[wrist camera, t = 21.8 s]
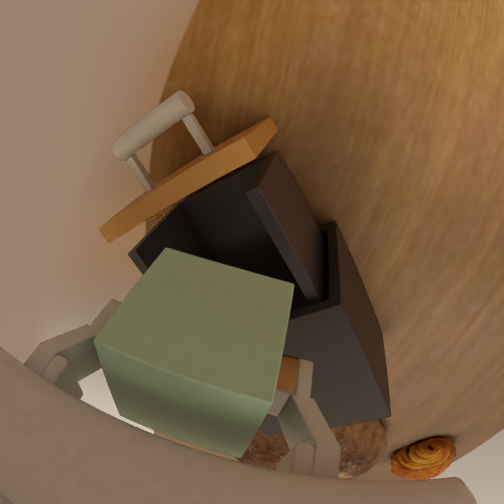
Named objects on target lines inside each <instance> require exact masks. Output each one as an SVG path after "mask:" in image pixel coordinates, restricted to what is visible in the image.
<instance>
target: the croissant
mask: <svg viewBox="0 0 504 504" xmlns="http://www.w3.org/2000/svg"><path fill="white" fill-rule="evenodd" d="M455 456H456V448H455V446H454V445H453V443H452V442H451V441H449V440H448V439H445V438H432V439H429V440H426V441H423V442H421V443H417V444H414V445H412V446H411V447H410V446H407V447H404V448H402V449H401V450H400V451H399V452H397V453H396V454H395V455H394V457H393V459H392V462H391V466H392V469H391V470H392V473H393V474H395V475H396V476H399V477H402V478H404V479H415V480H425V479H429V478H433V477H436V476H438V475H439V474H441V473H442V472H444V471H445V469H446V468H448V467H449V466H450V465H451V463H452V461H453V460H454V458H455Z"/></svg>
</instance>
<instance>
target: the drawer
mask: <svg viewBox="0 0 504 504" xmlns="http://www.w3.org/2000/svg"><path fill="white" fill-rule="evenodd" d="M194 109H195V108H194V104H193V102H192V100H191V98H190V97H189V96H188V95H187V94H186V93H185V92H184V91H181V90H179V91H177V92H176V93H174V94H173V95H172V96H170V97H169V98H167V99H166V100H165V101H163V102H162V103H161V104H159V105H158V106H157V107H156V108H154V109H153V110H152V111H150V112H149V113H148V114H147V115H145V116H144V117H143V118H141V119H140V120H139V121H138V122H136V123H135V124H134V125H133V126H132V127H130V128H129V129H128V130H127V131H126V132H125V133H123V134H122V135H121V136H120V137H119V138H118V139H116V140H115V141H114V142H113V144H112V146H111V147H112V148H111V149H112V152H113V154H114V155H115V156H116V158H118V159H119V160H122V161H125V160H126V162H127V163H128V165H129V166H130V168H131V170H132V171H133V173H134V174H135V176H136V177H137V179H138V180H139V182H140V183H141V185H142V186H143V188H144V190H145V191H146V192H144V193H143V194H142V195H141V196H139V197H138V198H137V199H135V200H134V201H133V202H131V203H130V204H129V205H128V206H126V207H125V208H124V209H123V210H121V211H120V212H119V213H118V214H116V215H115V216H114V217H113V218H111V220H109V221H108V222H107V223H105V224H104V225H103V226H102V227H101V228H100V229H99V230H100V232H101V233H102V235H103V236H104V238H105V239H106V240H107V242H108V243H110V242H112V241H113V240H115V239H116V238H118V237H120V236H121V235H122V234H124V233H126V232H128V231H129V230H131V229H132V228H134V227H135V226H137V225H139V224H140V223H142V222H143V221H145V220H147V219H148V218H150V217H152V216H153V215H155V214H157V213H158V212H160V211H162V210H163V209H165V208H167V207H168V206H170V205H172V204H174V203H175V202H177V201H179V200H180V199H182V198H184V197H186V196H187V195H189V194H191V193H193V192H194V191H196V190H198V189H200V188H202V187H203V186H205V185H207V184H209V183H211V182H212V181H214V180H216V179H218V178H220V177H222V176H224V175H225V174H227V173H229V172H231V171H233V170H235V169H237V168H239V167H241V166H242V165H244V164H246V163H248V162H250V161H252V160H254V159H256V157H257V156H258V155H259V154H260V152H261V151H262V150H263V148H264V147H265V146H266V145H267V143H268V142H269V141H270V140H271V138H272V137H273V136H274V135H275V133H276V132H277V131H278V129H277V127H276V125H275V124H274V122H273V120H272V118H271V117H269V118H267V119H265V120H263V121H261V122H259V123H257V124H255V125H254V126H252V127H250V128H248V129H246V130H244V131H242V132H241V133H239V134H237V135H235V136H233V137H232V138H230V139H228V140H226V141H225V142H223V143H221V144H219V145H218V146H216V147H213V145H212V144H211V142H210V140H209V139H208V137H207V135H206V134H205V132H204V131H203V129H202V127H201V126H200V124H199V123H198V121H197V119H196V118H195V116H194V115H193V113H192V112H193V111H194ZM181 119H182V121H183V122H184V124H185V125H186V127H187V129H188V130H189V132H190V133H191V135H192V137H193V138H194V140H195V141H196V143H197V145H198V146H199V148H200V149H201V151H202V153H203V154H202V155H201V156H199V157H197V158H196V159H194V160H192V161H191V162H189V163H188V164H186V165H184V166H183V167H181V168H180V169H178V170H176V171H175V172H173V173H172V174H170V175H169V176H167V177H166V178H164V179H162V180H161V181H159V182H158V183H156V184H155V183H154V182H153V180H152V179H151V177H150V176H149V174H148V173H147V171H146V170H145V168H144V166H143V165H142V163H141V162H140V160H139V159H138V157H137V156H136V154H135V153H136V152H137V151H139V150H140V149H141V148H143V147H144V146H145V145H147V144H148V143H149V142H151V141H152V140H153V139H155V138H156V137H157V136H159V135H160V134H161V133H163V132H164V131H166V130H167V129H168V128H170V127H171V126H173V125H174V124H176V123H177V122H178V121H180V120H181ZM165 248H170V249H173V250H177V251H180V252H184V253H187V254H190V255H194V256H197V257H201V258H204V259H208V260H211V261H214V262H218V263H221V264H225V265H228V266H232V267H235V268H239V269H242V270H246V271H250V272H253V273H257V274H260V275H264V276H267V277H271V278H275V279H278V280H282V281H285V282H289V283H293V284H294V291H293V297H292V303H291V309H290V311H293V310H296V309H299V308H303V307H306V306H309V305H312V304H316V303H319V302H322V301H325V300H328V299H329V266H328V245H327V243H326V241H325V239H324V237H323V235H322V232H321V230H320V228H319V226H318V224H317V222H316V220H315V218H314V216H313V215H312V213H311V211H310V209H309V207H308V205H307V203H306V201H305V199H304V197H303V195H302V193H301V191H300V189H299V188H298V186H297V184H296V182H295V180H294V178H293V176H292V174H291V173H290V171H289V169H288V167H287V165H286V163H285V162H284V160H283V158H282V156H281V154H280V153H279V151H276V152H274V153H272V154H270V155H268V156H266V157H264V158H262V159H260V160H258V161H256V162H254V163H252V164H250V165H248V166H246V167H244V168H242V169H240V170H238V171H236V172H234V173H232V174H230V175H229V176H227V177H225V178H223V179H221V180H219V181H217V182H216V183H214V184H212V185H210V186H208V187H206V188H205V189H203V190H201V191H199V192H197V193H196V194H194V195H192V196H190V197H188V198H187V199H185V200H183V201H181V202H180V203H178V204H176V205H175V206H174V207H173V208H172V209H171V210H170V211H169V212H168V213H167V214H166V215H165V216H164V217H163V218H162V219H161V220H160V221H159V222H158V223H157V224H156V225H155V226H154V227H153V228H152V229H151V230H150V231H149V232H148V233H147V234H146V236H145V237H144V238H143V239H142V240H141V241H140V242H139V243H138V244H137V245H136V246H135V247H134V248H133V249H132V250H131V251H130V252H129V254H128V255H129V257H130V258H131V259H132V261H133V262H134V263H135V265H136V266H137V267H138V269H139V270H140V271H141V272H142V274H143V275H144V273H145V272H146V271H147V270H148V268H149V267H150V266H151V265H152V264H153V262H154V261H155V260H156V259H157V257H158V256H159V255H160V254H161V253H162V251H163V250H164V249H165Z"/></svg>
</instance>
